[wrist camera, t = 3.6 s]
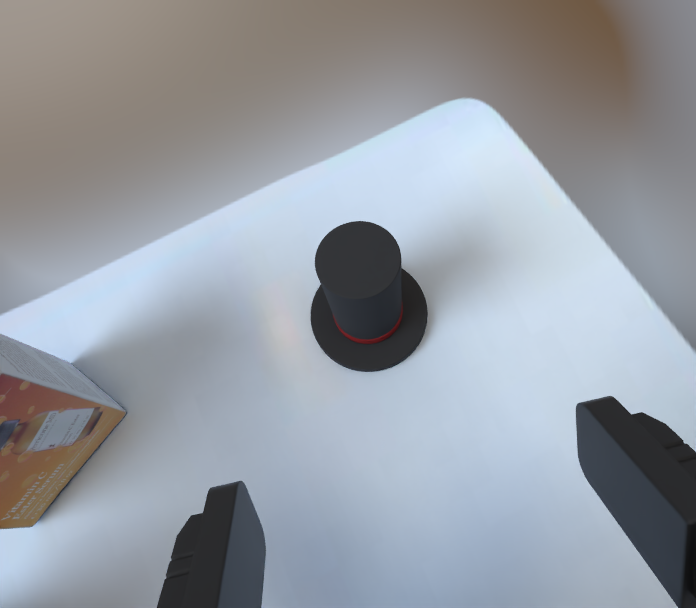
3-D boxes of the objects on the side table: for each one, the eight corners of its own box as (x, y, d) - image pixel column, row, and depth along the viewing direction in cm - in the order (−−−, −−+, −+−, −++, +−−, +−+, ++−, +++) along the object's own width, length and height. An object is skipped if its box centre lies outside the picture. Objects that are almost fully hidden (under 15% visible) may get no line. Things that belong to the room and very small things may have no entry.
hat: (410, 251, 32) (412, 178, 25) (440, 356, 30) (453, 310, 22) (302, 277, 32) (272, 213, 25) (324, 384, 30) (297, 347, 22)
